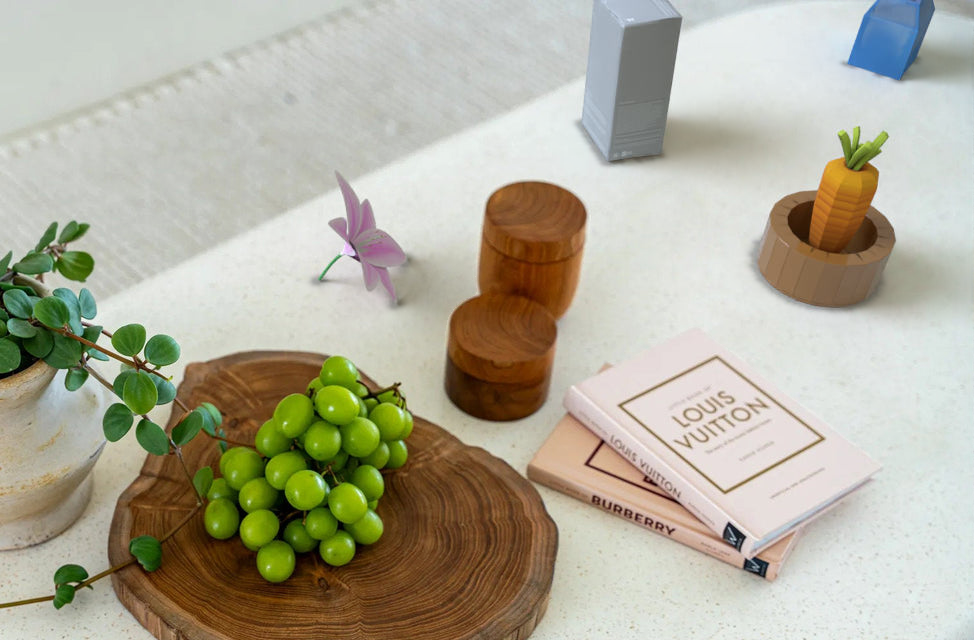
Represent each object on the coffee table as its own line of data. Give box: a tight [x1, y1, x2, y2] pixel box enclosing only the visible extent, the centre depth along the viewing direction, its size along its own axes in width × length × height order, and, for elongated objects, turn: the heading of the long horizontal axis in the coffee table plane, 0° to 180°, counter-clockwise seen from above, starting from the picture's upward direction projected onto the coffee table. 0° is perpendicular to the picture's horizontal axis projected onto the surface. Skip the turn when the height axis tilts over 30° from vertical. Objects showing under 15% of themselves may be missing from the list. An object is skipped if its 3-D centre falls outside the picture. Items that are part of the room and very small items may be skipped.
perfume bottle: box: [846, 0, 936, 81], centre depth 132 cm, size 6×6×12 cm
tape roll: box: [756, 189, 897, 308], centre depth 108 cm, size 11×11×5 cm
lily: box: [317, 169, 408, 304], centre depth 105 cm, size 12×12×10 cm
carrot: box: [809, 125, 890, 254], centre depth 104 cm, size 5×5×15 cm
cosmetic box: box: [580, 0, 683, 162], centre depth 119 cm, size 8×7×16 cm
